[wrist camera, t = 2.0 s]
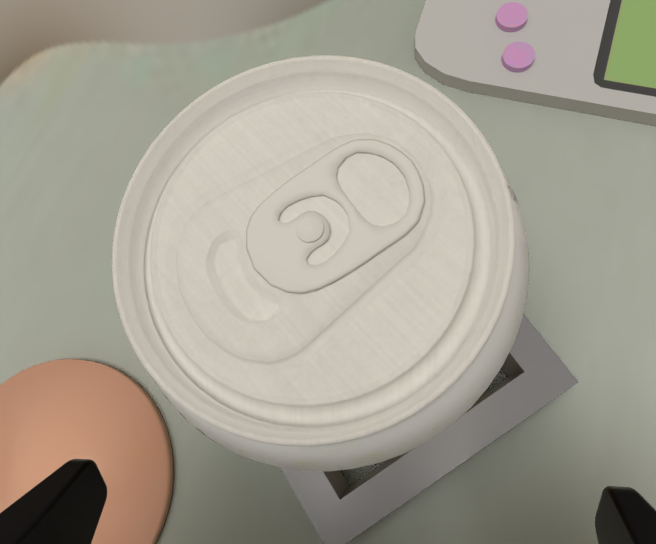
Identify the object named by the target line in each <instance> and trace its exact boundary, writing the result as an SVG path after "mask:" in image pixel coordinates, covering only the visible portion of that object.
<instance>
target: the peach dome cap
mask: <svg viewBox="0 0 656 544" xmlns="http://www.w3.org/2000/svg"><path fill="white" fill-rule="evenodd" d="M72 459H91V460H93V461H94V462H95V463H96V464H97V466H98V469H99V471H100V473H101V475H102V477H103V479H104V481H105V483H106V486H107V499H106V502H105V505H104V508H103V511H102V514H101V517H100V520H99V522H98V525H97V528H96V531H95V534H94V537H93V540H92V543H91V544H155V543H156V541H157V539H158V537H159V535H160V532H161V530H162V528H163V526H164V523H165V519H166V516H167V513H168V510H169V506H170V500H171V495H172V488H173V476H174V471H173V454H172V448H171V442H170V438H169V435H168V431H167V428H166V425H165V422H164V420H163V418H162V416H161V413H160V411H159V410H158V408H157V406H156V405H155V403H154V401H153V400H152V398H151V397H150V396H149V395H148V394H147V392H146V391H145V390H144V389H143V388H142V387H141V386H140V385H139V384H138V383H137V382H136V381H135V380H134V379H132V378H131V377H129V376H128V375H126V374H125V373H123V372H122V371H120V370H117V369H115V368H113V367H111V366H108V365H105V364H102V363H98V362H92V361H85V360H78V359H61V360H54V361H48V362H45V363H41V364H38V365H35V366H32V367H30V368H28V369H26V370H23V371H21V372H20V373H18V374H16V375H15V376H13V377H11V378H9V379H8V380H7V381H5V382H4V383H3V384H2V385H0V513H1V512H2V511H4V510H5V509H6V508H7V507H9V506H10V505H11V504H13V503H14V502H15V501H17V500H18V499H19V498H20V497H22V496H23V495H24V494H26V493H27V492H28V491H30V490H31V489H32V488H33V487H35V486H36V485H37V484H39V483H40V482H41V481H43V480H44V479H45V478H46V477H48V476H49V475H50V474H52V473H53V472H54V471H56V470H57V469H58V468H60V467H61V466H62V465H63V464H65V463H66V462H68V461H69V460H72Z"/></svg>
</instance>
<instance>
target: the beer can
mask: <svg viewBox="0 0 656 544" xmlns="http://www.w3.org/2000/svg"><path fill="white" fill-rule="evenodd" d="M112 275H113V287H114V292H115V298H116V304H117V308H118V311H119V314H120V318H121V321H122V324H123V327H124V329H125V332H126V334H127V336H128V338H129V341H130V343H131V345H132V347H133V349H134V351H135V352H136V354H137V356H138V357H139V359H140V361H141V362H142V364H143V366H144V367H145V368H146V369H147V371H148V372H149V373H150V375H151V376H152V377H153V379H154V380H155V382H156V384H157V385H158V387H159V389H160V390H161V391H162V393H163V394H164V395H165V397H166V398H167V399H168V400H169V402H170V403H171V404H172V405H173V407H174V408H175V409H176V410H177V411H178V412H179V413H180V414H181V415H182V416H183V417H184V418H185V419H186V420H187V421H188V422H189V423H190V424H191V425H192V426H194V427H195V428H196V429H198V430H199V431H200V432H202V433H203V434H204V435H206V436H207V437H208V438H210V439H211V440H213V441H214V442H216V443H218V444H220V445H221V446H223V447H225V448H227V449H228V450H230V451H232V452H234V453H237V454H239V455H242V456H244V457H246V458H249V459H251V460H253V461H257V462H260V463H264V464H268V465H271V466H275V467H279V468H286V469H293V470H300V471H338V470H347V469H355V468H360V467H364V466H368V465H372V464H376V463H381V462H383V461H386V460H389V459H391V458H394V457H397V456H399V455H402V454H405V453H407V452H409V451H411V450H412V449H414V448H416V447H418V446H420V445H422V444H424V443H426V442H428V441H429V440H431V439H432V438H434V437H435V436H437V435H438V434H440V433H441V432H442V431H444V430H445V429H447V428H448V427H450V426H451V425H452V424H453V423H454V422H455V421H457V420H458V419H459V418H460V417H461V416H462V415H463V414H464V413H465V412H467V411H468V410H469V409H470V408H471V407H472V406H473V404H474V403H475V402H476V401H477V400H478V399H479V398H480V396H481V395H482V394H483V393H484V392H485V391H486V389H487V388H488V387H489V385H490V384H491V382H492V381H493V379H494V378H495V376H496V375H497V373H498V372H499V370H500V369H501V367H502V366H503V364H504V362H505V360H506V358H507V356H508V354H509V352H510V350H511V348H512V346H513V344H514V341H515V338H516V335H517V333H518V330H519V327H520V324H521V321H522V318H523V313H524V308H525V303H526V299H527V293H528V281H529V251H528V242H527V236H526V230H525V224H524V221H523V217H522V214H521V211H520V207H519V204H518V201H517V199H516V196H515V194H514V192H513V190H512V188H511V185H510V183H509V181H508V179H507V177H506V176H505V174H504V172H503V171H502V169H501V167H500V165H499V162H498V160H497V158H496V156H495V154H494V152H493V150H492V149H491V147H490V145H489V144H488V142H487V140H486V139H485V137H484V136H483V134H482V133H481V132H480V130H479V129H478V128H477V127H476V125H475V124H474V123H473V121H472V120H471V119H470V118H469V117H468V116H467V115H466V114H465V113H464V112H463V111H462V110H461V109H460V108H459V107H458V106H457V105H456V104H455V103H454V102H453V101H452V100H450V99H449V98H448V97H447V96H445V95H444V94H443V93H441V92H440V91H439V90H437V89H436V88H434V87H433V86H431V85H429V84H428V83H426V82H424V81H423V80H421V79H419V78H418V77H416V76H413V75H411V74H409V73H407V72H405V71H402V70H400V69H398V68H395V67H392V66H389V65H386V64H382V63H379V62H375V61H371V60H366V59H361V58H356V57H346V56H306V57H296V58H290V59H285V60H280V61H275V62H271V63H268V64H265V65H262V66H258V67H255V68H252V69H250V70H247V71H245V72H243V73H240V74H238V75H236V76H233V77H231V78H229V79H228V80H226V81H224V82H222V83H220V84H218V85H216V86H215V87H213V88H212V89H210V90H209V91H207V92H206V93H204V94H203V95H201V96H200V97H198V98H197V99H196V100H194V101H193V102H192V103H191V104H189V105H188V106H187V107H186V108H185V109H183V110H182V111H181V112H180V113H179V114H178V115H177V116H176V117H175V118H174V119H173V120H172V121H171V122H170V123H169V124H168V125H167V126H166V127H165V128H164V129H163V130H162V132H161V133H160V134H159V135H158V137H157V138H156V139H155V140H154V141H153V143H152V144H151V146H150V147H149V149H148V150H147V152H146V153H145V155H144V156H143V158H142V159H141V161H140V162H139V164H138V166H137V168H136V170H135V172H134V174H133V176H132V177H131V179H130V182H129V184H128V187H127V189H126V192H125V194H124V197H123V199H122V203H121V206H120V210H119V213H118V217H117V220H116V226H115V232H114V238H113V250H112Z"/></svg>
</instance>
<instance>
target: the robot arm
mask: <svg viewBox="0 0 656 544" xmlns="http://www.w3.org/2000/svg"><path fill="white" fill-rule="evenodd" d="M106 499H107V486H106V483H105V481H104V479H103V477H102V475H101V473H100V471H99V469H98V466H97V464H96V463H95V462H94V461H93V460H91V459H72V460H69V461H68V462H66V463H65V464H63V465H62V466H61V467H60V468H58V469H57V470H56V471H54V472H53V473H52V474H50V475H49V476H48V477H46V478H45V479H44V480H43V481H41V482H40V483H39V484H37V485H36V486H35V487H33V488H32V489H31V490H30V491H28V492H27V493H26V494H24V495H23V496H22V497H20V498H19V499H18V500H17V501H15V502H14V503H13V504H11V505H10V506H9V507H7V508H6V509H5V510H4V511H2V512H1V513H0V544H91V543H92V540H93V537H94V534H95V531H96V528H97V525H98V522H99V520H100V517H101V514H102V511H103V508H104V505H105V502H106ZM595 527H596V533H597V538H598V542H599V544H656V510H655V509H654V508H653V507H652V506H651V505H650V504H649V503H648V502H647V501H646V500H645V499H644V498H643V497H642V496H641V495H640V494H639V493H638V492H637V491H636V490H634V489H632V488H629V487H616V486H607V487H606V488H605V489H604V490H603V492H602V496H601V499H600V503H599V506H598V510H597V513H596V517H595Z"/></svg>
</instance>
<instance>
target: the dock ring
mask: <svg viewBox="0 0 656 544" xmlns="http://www.w3.org/2000/svg"><path fill="white" fill-rule="evenodd" d="M501 369H502V370H503V371H504V373H505V374H506V375H507V378H505V379H504V380H502V381H501V382H500V383H498V384H497V385H495V386H494V387H492V388H491V389H489V390H488V391H487V392H485V393H484V394H482V395H481V396H480V398H479V399H478V400H477V401H476V402H475V403H474V404H473V406H472V407H471V408H470V409H469V410H468V411H467V412H465V413H464V414H463V415H462V416H461V417H460V418H459V419H458V420H457V421H455V422H454V423H453V424H452V425H451V426H450V427H448V428H447V429H445V430H444V431H442V432H441V433H440V434H438V435H437V436H435V437H434V438H432V439H431V440H429V441H428V442H426V443H424V444H422V445H420V446H418V447H416V448H414V449H412V450H411V451H409V452H407V453H405V454H402V455H399V456H397V457H394V458H391V459H389V460H387V461H385V462H384V463H383V464H381V465H380V466H378V467H377V468H375V469H374V470H372V471H371V472H370V473H368V474H367V475H365V476H364V477H362V478H361V479H359V480H358V481H357V482H355V483H354V484H352V485H351V486H349V484H348V482H347V481H346V479H345V478H344V476H343V474H342V473H341V471H340V470H338V471H300V470H293V469H286V468H280V469H281V471H282V472H283V474H284V476H285V478H286V479H287V481H288V483H289V485H290V486H291V488H292V490H293V492H294V493H295V495H296V497H297V499H298V500H299V502H300V504H301V506H302V507H303V509H304V511H305V513H306V514H307V516H308V518H309V520H310V521H311V523H312V525H313V527H314V528H315V530H316V532H317V534H318V535H319V537H320V539H321V540H322V542H323V544H346V543H348V542H349V541H351V540H352V539H354V538H355V537H356V536H358V535H359V534H361V533H362V532H364V531H365V530H366V529H368V528H369V527H371V526H372V525H374V524H375V523H377V522H378V521H379V520H381V519H382V518H384V517H385V516H387V515H388V514H389V513H391V512H392V511H394V510H395V509H397V508H398V507H400V506H401V505H402V504H404V503H405V502H407V501H408V500H410V499H411V498H412V497H414V496H415V495H417V494H418V493H420V492H421V491H423V490H424V489H425V488H427V487H428V486H430V485H431V484H433V483H434V482H435V481H437V480H438V479H440V478H441V477H443V476H444V475H446V474H447V473H448V472H450V471H451V470H453V469H454V468H456V467H457V466H458V465H460V464H461V463H463V462H464V461H466V460H467V459H469V458H470V457H471V456H473V455H474V454H476V453H477V452H479V451H480V450H481V449H483V448H484V447H486V446H487V445H489V444H490V443H492V442H493V441H494V440H496V439H497V438H499V437H500V436H502V435H503V434H504V433H506V432H507V431H509V430H510V429H512V428H513V427H515V426H516V425H517V424H519V423H520V422H522V421H523V420H525V419H526V418H528V417H529V416H530V415H532V414H533V413H535V412H536V411H538V410H539V409H540V408H542V407H543V406H545V405H546V404H548V403H549V402H551V401H552V400H553V399H555V398H556V397H558V396H559V395H561V394H562V393H563V392H565V391H566V390H568V389H569V388H571V387H572V386H574V385H575V384H576V383H578V381H577V379H576V378H575V377H574V376H573V375H572V373H571V372H570V371H569V370H568V368H567V367H566V366H565V365H564V363H563V362H562V361H561V360H560V358H559V357H558V356H557V355H556V354H555V352H554V351H553V350H552V349H551V347H550V346H549V345H548V344H547V342H546V341H545V340H544V339H543V338H542V336H541V335H540V334H539V333H538V331H537V330H536V329H535V328H534V326H533V325H532V324H531V323H530V321H529V320H528V319H527V318H526V317H525V315H524V314H523V318H522V321H521V324H520V327H519V330H518V333H517V335H516V338H515V341H514V344H513V346H512V348H511V350H510V352H509V354H508V356H507V358H506V360H505V362H504V364H503V366H502V367H501Z"/></svg>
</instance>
